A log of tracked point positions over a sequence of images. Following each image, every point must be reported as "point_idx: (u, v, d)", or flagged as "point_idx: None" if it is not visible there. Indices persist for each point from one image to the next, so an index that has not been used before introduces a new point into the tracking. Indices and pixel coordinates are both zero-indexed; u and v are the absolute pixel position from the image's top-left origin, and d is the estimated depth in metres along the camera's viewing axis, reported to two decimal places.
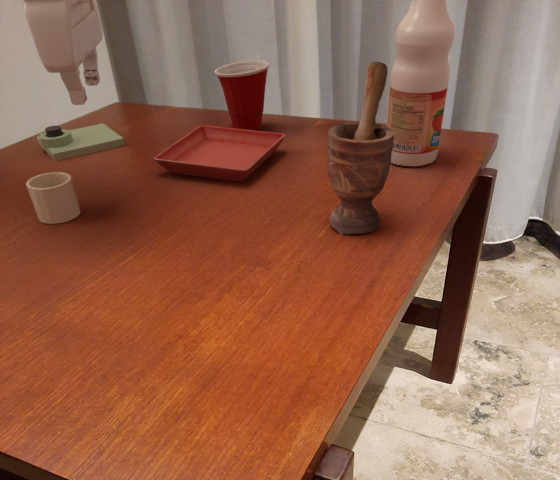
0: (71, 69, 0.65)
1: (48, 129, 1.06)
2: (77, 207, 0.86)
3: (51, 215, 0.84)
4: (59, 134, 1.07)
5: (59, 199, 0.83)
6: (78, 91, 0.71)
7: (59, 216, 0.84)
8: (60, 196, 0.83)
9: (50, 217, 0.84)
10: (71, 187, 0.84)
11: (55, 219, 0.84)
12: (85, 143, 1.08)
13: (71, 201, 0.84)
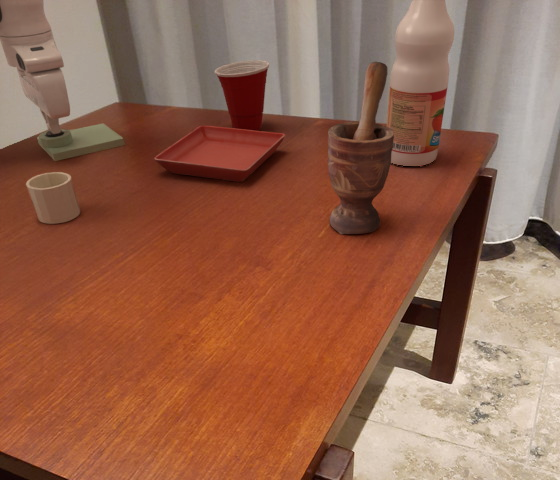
0: (68, 114, 0.99)
1: (49, 133, 1.07)
2: (77, 207, 0.86)
3: (51, 215, 0.84)
4: None
5: (59, 199, 0.83)
6: (56, 124, 1.06)
7: (59, 216, 0.84)
8: (60, 196, 0.83)
9: (50, 217, 0.84)
10: (71, 187, 0.84)
11: (55, 219, 0.84)
12: (85, 143, 1.08)
13: (71, 201, 0.84)
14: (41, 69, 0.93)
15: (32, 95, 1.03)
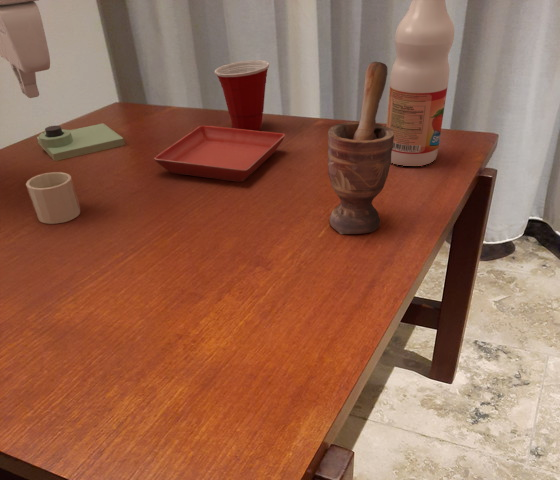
0: (47, 67, 0.73)
1: (48, 129, 1.06)
2: (77, 207, 0.86)
3: (51, 215, 0.84)
4: (59, 134, 1.07)
5: (59, 199, 0.83)
6: (32, 85, 0.80)
7: (59, 216, 0.84)
8: (60, 196, 0.83)
9: (50, 217, 0.84)
10: (71, 187, 0.84)
11: (55, 219, 0.84)
12: (85, 143, 1.08)
13: (71, 201, 0.84)
14: (8, 1, 0.68)
15: (0, 45, 0.77)
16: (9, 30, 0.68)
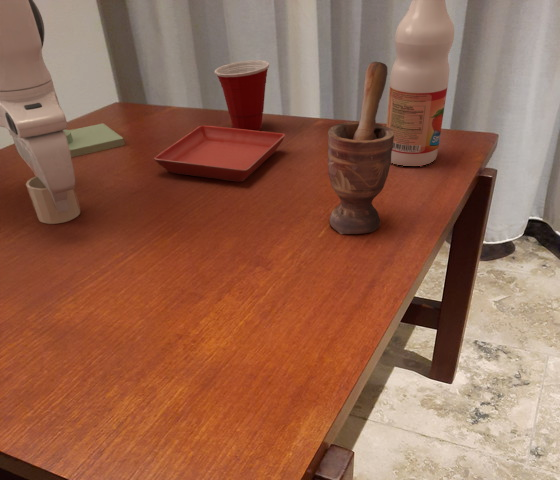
0: (73, 187, 0.77)
1: None
2: (77, 207, 0.86)
3: (51, 215, 0.84)
4: None
5: None
6: (63, 200, 0.82)
7: (59, 216, 0.84)
8: None
9: (50, 217, 0.84)
10: None
11: (55, 219, 0.84)
12: (85, 143, 1.08)
13: (71, 201, 0.84)
14: (38, 133, 0.72)
15: (27, 158, 0.81)
16: (38, 159, 0.72)
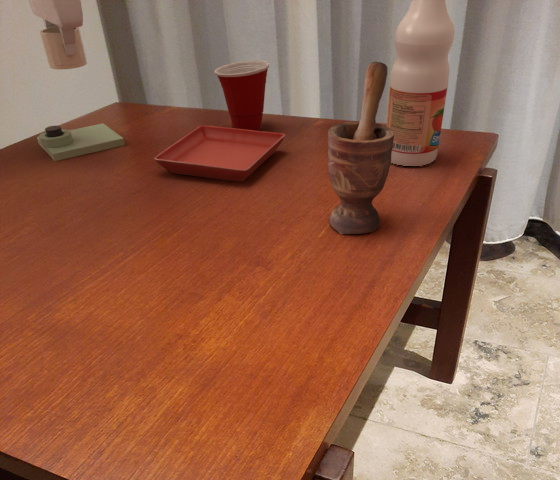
0: (80, 24, 0.89)
1: (48, 129, 1.06)
2: (84, 57, 0.98)
3: (61, 60, 0.96)
4: (59, 134, 1.07)
5: None
6: (72, 44, 0.94)
7: (68, 62, 0.96)
8: None
9: (60, 62, 0.96)
10: (79, 36, 0.96)
11: (65, 65, 0.97)
12: (85, 143, 1.08)
13: (79, 49, 0.97)
14: None
15: (41, 7, 0.94)
16: None
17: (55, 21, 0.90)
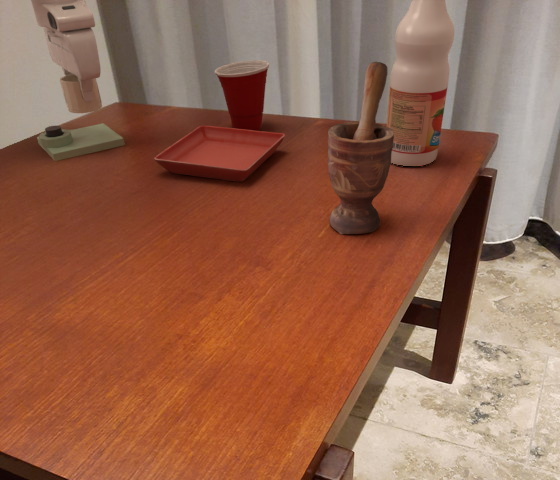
0: (98, 76, 0.98)
1: (48, 129, 1.06)
2: (100, 101, 1.07)
3: (79, 105, 1.05)
4: (59, 134, 1.07)
5: None
6: (89, 92, 1.03)
7: (85, 107, 1.05)
8: None
9: (78, 107, 1.05)
10: (95, 83, 1.05)
11: (82, 109, 1.05)
12: (85, 143, 1.08)
13: (95, 95, 1.06)
14: (73, 28, 0.93)
15: (61, 58, 1.02)
16: (73, 49, 0.94)
17: (75, 73, 0.98)
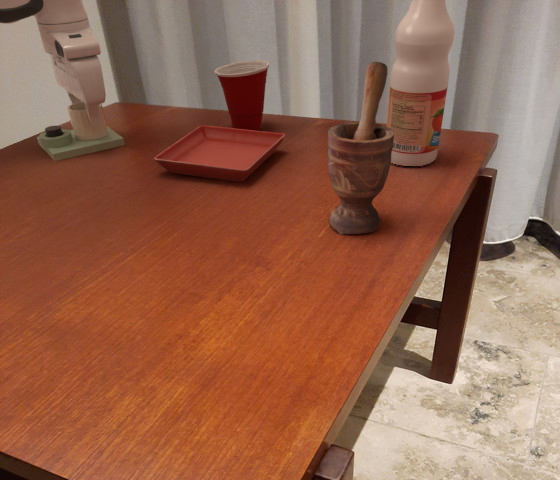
0: (103, 101, 1.01)
1: (48, 129, 1.06)
2: (106, 128, 1.11)
3: (86, 133, 1.08)
4: (59, 134, 1.07)
5: None
6: (95, 116, 1.05)
7: (92, 134, 1.09)
8: None
9: (85, 134, 1.08)
10: (102, 111, 1.08)
11: (89, 136, 1.09)
12: (85, 143, 1.08)
13: (101, 122, 1.09)
14: (79, 56, 0.95)
15: (66, 82, 1.05)
16: (79, 76, 0.96)
17: (80, 98, 1.01)
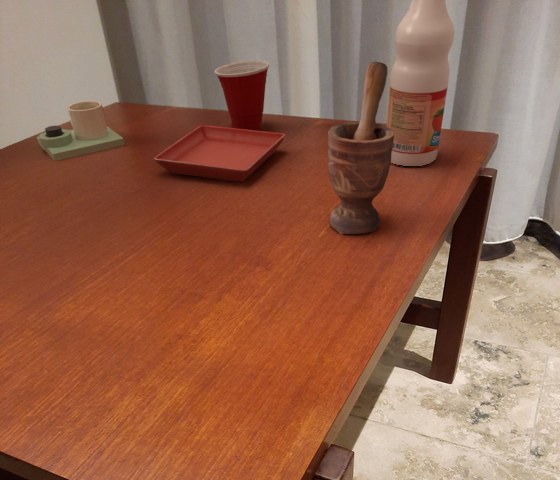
0: None
1: (48, 129, 1.06)
2: (106, 128, 1.11)
3: (86, 133, 1.08)
4: (59, 134, 1.07)
5: (93, 120, 1.07)
6: None
7: (92, 134, 1.09)
8: (93, 117, 1.07)
9: (85, 134, 1.08)
10: (102, 111, 1.08)
11: (89, 136, 1.09)
12: (85, 143, 1.08)
13: (101, 122, 1.09)
14: None
15: None
16: None
17: None
